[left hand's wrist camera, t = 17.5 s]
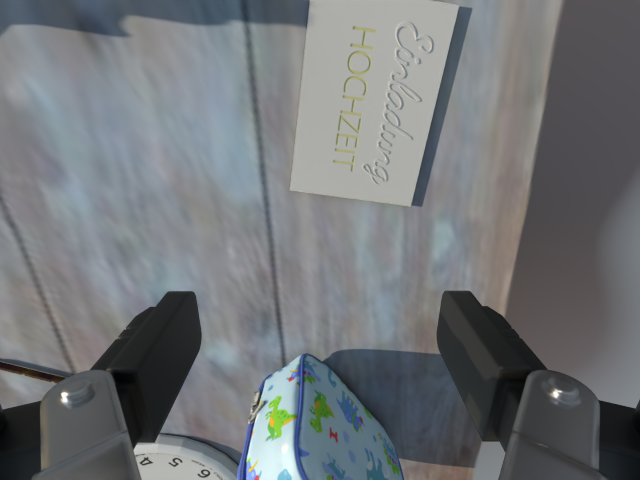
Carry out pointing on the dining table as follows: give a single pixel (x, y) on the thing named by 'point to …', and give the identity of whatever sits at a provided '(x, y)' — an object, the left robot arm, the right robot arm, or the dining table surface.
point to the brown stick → (30, 373)
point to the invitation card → (369, 96)
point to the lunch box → (313, 430)
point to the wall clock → (182, 460)
